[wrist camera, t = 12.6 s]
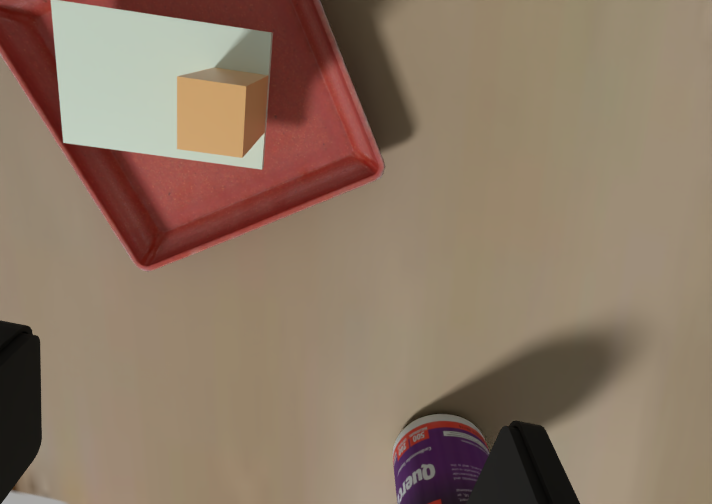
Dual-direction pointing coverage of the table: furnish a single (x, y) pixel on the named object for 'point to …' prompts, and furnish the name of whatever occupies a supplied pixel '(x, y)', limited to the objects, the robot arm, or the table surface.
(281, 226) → the table surface
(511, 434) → the robot arm
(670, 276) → the table surface
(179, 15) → the plant saucer
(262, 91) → the white tan l-shaped piece
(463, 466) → the pill bottle
